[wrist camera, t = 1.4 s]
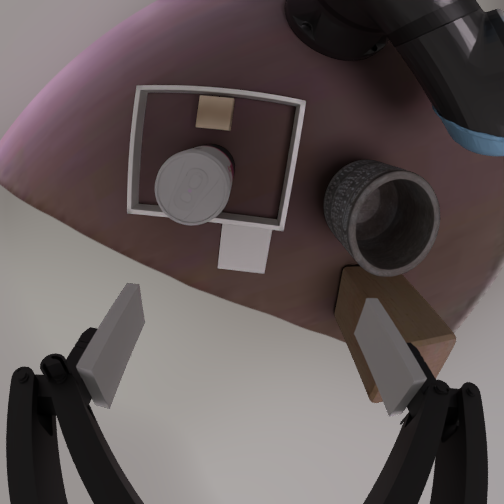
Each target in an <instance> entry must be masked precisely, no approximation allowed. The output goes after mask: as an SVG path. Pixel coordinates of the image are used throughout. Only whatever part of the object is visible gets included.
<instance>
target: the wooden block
mask: <svg viewBox="0 0 504 504" xmlns="http://www.w3.org/2000/svg"><path fill="white" fill-rule="evenodd" d="M366 298H378V300H379V301H380V303H381V304H382V306H383V307H384V309H385V310H386V312H387V314H388V315H389V317H390V318H391V320H392V321H393V323H394V324H395V326H396V328H397V329H398V331H399V332H400V334H401V335H402V337H403V339H404V340H405V342H406V343H410V342H411V343H412V344H413V345H414V346H415V347H416V348H417V349H418V350H419V352H420V354H421V356H422V357H423V359H424V362H426V363H427V365H428V367H429V368H430V370H431V372H432V374H433V375H434V377H435V379H436V377H437V375H438V374H439V372H440V370H441V368H442V367H443V365H444V363H445V361H446V360H447V358H448V356H449V354H450V352H451V350H452V348H453V346H454V345H455V342H456V337H455V335H454V333H453V332H452V331H451V329H450V328H449V327H448V326H447V325H446V323H445V322H444V321H443V320H442V319H441V317H440V316H439V315H438V314H437V313H436V312H435V310H434V309H433V308H432V307H431V306H430V305H429V304H428V302H427V301H426V300H425V299H424V298H423V297H422V296H421V295H420V294H419V292H418V291H417V290H416V289H415V288H414V287H413V286H412V285H411V284H410V283H409V282H408V280H407V279H406V278H405V277H404V276H403V275H402V274H400V275H397V276H392V277H381V276H376V275H373V274H371V273H369V272H367V271H365V270H364V269H363V268H362V267H361V266H354V267H345V268H344V269H343V271H342V277H341V282H340V288H339V293H338V298H337V303H336V308H335V313H334V315H335V318H336V321H337V323H338V325H339V327H340V330H341V332H342V334H343V337H344V339H345V341H346V343H347V346H348V348H349V350H350V353H351V355H352V358H353V360H354V362H355V365H356V367H357V369H358V372H359V374H360V377H361V379H362V382H363V384H364V387H365V389H366V392H367V394H368V397H369V399H370V400H371V402H374V403H378V402H383V400H382V397H381V395H380V392H379V390H378V387H377V385H376V383H375V380H374V378H373V376H372V373H371V371H370V369H369V366H368V364H367V362H366V359H365V357H364V355H363V352H362V350H361V348H360V346H359V343H358V341H357V339H356V337H355V335H354V332H355V330H356V327H357V324H358V321H359V319H360V316H361V313H362V310H363V307H364V304H365V301H366Z"/></svg>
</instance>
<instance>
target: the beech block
mask: <svg viewBox="0 0 504 504" xmlns="http://www.w3.org/2000/svg"><path fill="white" fill-rule="evenodd" d="M234 105H235V101H234V98H226V97H215V96H203V95H200V99H199V106H198V112H197V119H196V127H198V128H208V129H218V130H227V131H231V124H232V118H233V111H234Z"/></svg>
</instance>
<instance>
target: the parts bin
mask: <svg viewBox="0 0 504 504" xmlns="http://www.w3.org/2000/svg"><path fill="white" fill-rule="evenodd" d="M148 93H192V94H208V95H220V96H230V97H239V98H247V99H255V100H261V101H268V102H274V103H280V104H286V105H291V106H296V111H295V117H294V124H293V130H292V136H291V142H290V148H289V154H288V160H287V166H286V172H285V178H284V183H283V189H282V195H281V200H280V206H279V212H278V217H277V219H271V218H263V217H256V216H248V215H240V214H232V213H224V212H221V213H220V214H219V215H218V216H216V217H215V218H214V219H212V220H210V221H208V222H215V223H223V224H231V225H240V226H248V227H256V228H263V229H271V230H279V231H284V225H285V220H286V215H287V210H288V204H289V199H290V193H291V188H292V182H293V177H294V171H295V165H296V160H297V154H298V148H299V142H300V136H301V130H302V124H303V118H304V112H305V105H306V101H304V100H300V99H295V98H290V97H284V96H279V95H273V94H267V93H260V92H253V91H245V90H237V89H227V88H216V87H203V86H181V85H140V86H137V88H136V95H135V102H134V109H133V118H132V127H131V137H130V149H129V165H128V189H127V213H130V214H141V215H151V216H160V217H168V216H167V215H165V214H164V212H163V211H162V210H161V208H160V207H159V206H158V205H148V204H139V178H140V161H141V148H142V137H143V127H144V118H145V110H146V103H147V96H148Z"/></svg>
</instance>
